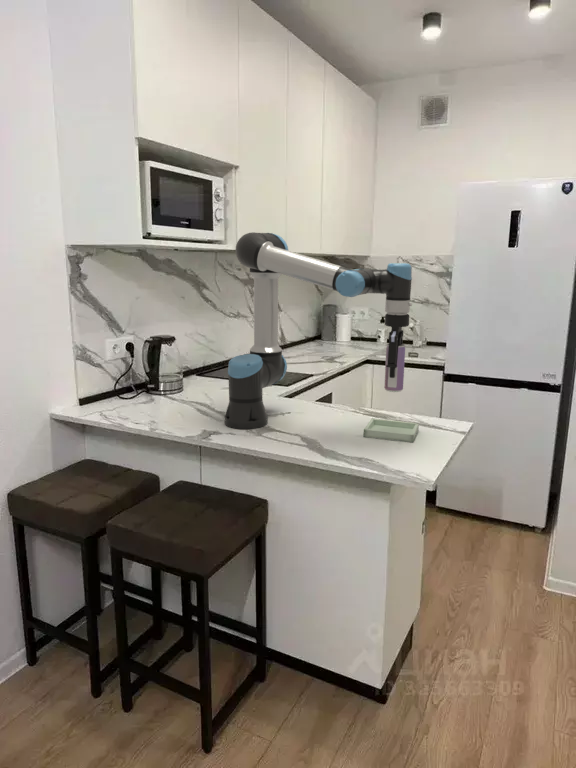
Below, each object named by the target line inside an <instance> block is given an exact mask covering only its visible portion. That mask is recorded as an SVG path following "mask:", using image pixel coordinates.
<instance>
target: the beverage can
mask: <svg viewBox="0 0 576 768" xmlns="http://www.w3.org/2000/svg"><path fill="white" fill-rule="evenodd" d="M405 346H406V345H405V344H404V343H402V344H400V346H399V347H398V359H397V367H398V368H397V387H396V388H394V387H388V369H389V367H386V365H387V364H388V351H389V343H387V344H386V348H385V349H386V351H385V368H384V390H385V391H386V392H389V393H400V392H402V391H403V389H404V378H405V364H406V363H405V362H406V347H405Z"/></svg>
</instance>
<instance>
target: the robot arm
mask: <svg viewBox="0 0 576 768" xmlns="http://www.w3.org/2000/svg"><path fill="white" fill-rule="evenodd" d="M235 255H236V258H237V260H238V262H239V263H240V264H241V265H242V266H244V267H246V268H249V274H250V275H251V276H252V277H253V281H254V282H253V345H252V346H251V347H250V348H249V353H246V354H243V355H242V354H239V355H235V356H233V357H232V358H231V359H230V360H229V361H228V368H227V375H228V401H229V402H228V403H227V408H226V411H225V414H224V425H226V426H227V427H229V428H233V429H239V430H250V429H257V428H262V427H264V426H266V425H267V424H268V422H269V421H268V418H269V417H268V414H267V410H266V407H265V404H264V401H263V389H264V388H265V389H266V387H269V386H271V385H273V386H274V385H276V384H277V383H278V382H280V381H282V380H283V378H284V377H285V375H286V373H287V371H288V370H287V369H288V363H287V360H286V358H284V355H283V349H282V347H281V346H279V342H278V341H279V335H278V334H279V278H280V276H282V275H284V276H287V277H291V278H294V279H297V280H299V281H302V282H306V283H310V284H313V285H317V286H319V287H322V288H325V289H329V290H332V291H336V292H338V293H339V294H340V295H341V296H343V297H346V298H347V297H348V298H354V297H357V296H360V295H367V294H383V295H385V296H386V297H385V306H384V307H385V308H384V312H385V313H386V314H385V315H384V325H385V326H386V327H391V331H389V333H388V344H389V351H388V364H387V365H386V364H385V365H386V367H389V369H388V387H394V388H396V387H397V368H398V367H397V359H398V347H399V346H400V344H403V342H404V341H403V339H404V329H403V328H406V327H408V326H410V315H409V313H410V312H411V311H410V308H411V307H412V306H413V304H412V302H411V291H412V280H413V277H412V273H413V272H412V271H413V269H412V265H411V264H410V263H404V262H403V263H402V262H401V263H400V262H399V263H398V262H397V263H396V262H395V263H392V262H391V263H388V264H387V267H386V268H385V269H373V268H370V269H369V268H356V269H352V268H349V267H344V266H341V265H339V264H334V263H331V262H328V261H325V260H322V259H318V258H314V257H311V256H308V255H304V254H301V253H297V252H294V251H291V250H289V246H288V244H287V242H286V241H285V239H283V237H282V236H280V235H279V234H276V233H273V232H271V233H270V232H247V233H244V234H243V235H242V236H241V237H240V238H239V239H238V240H237V242H236V244H235Z"/></svg>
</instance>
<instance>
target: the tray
mask: <svg viewBox="0 0 576 768" xmlns="http://www.w3.org/2000/svg"><path fill="white" fill-rule="evenodd" d="M419 427H420V423H419V422H411V421H401V420H392V419H382V418H373V417H372V418H371V419H370V420H369V422H368V423H367V424H366V425H365V427H364V429H363V438H371V439H380V440H385V441H386V440H387V441H388V440H390V441H397V442H405V443H414V442H415V440H416V437H417V434H418V432H419Z"/></svg>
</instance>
